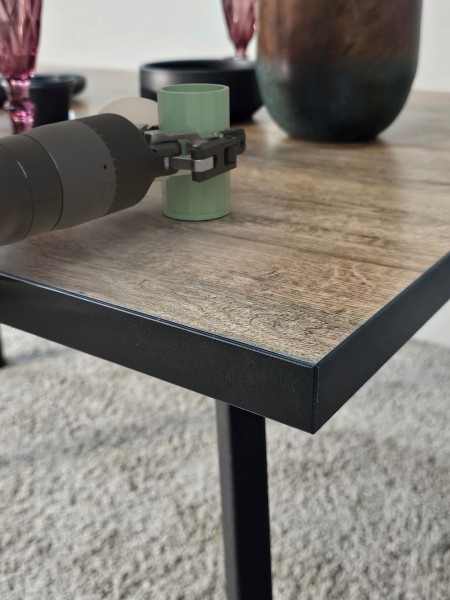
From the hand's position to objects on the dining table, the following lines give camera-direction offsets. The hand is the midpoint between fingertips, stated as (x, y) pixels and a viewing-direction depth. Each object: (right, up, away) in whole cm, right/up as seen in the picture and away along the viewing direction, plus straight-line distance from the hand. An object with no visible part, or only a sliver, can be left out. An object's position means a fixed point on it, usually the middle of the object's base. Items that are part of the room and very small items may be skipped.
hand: (210, 136), depth 68 cm
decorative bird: (-8, +1, +21) cm, 22 cm away
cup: (-1, -7, +1) cm, 7 cm away
